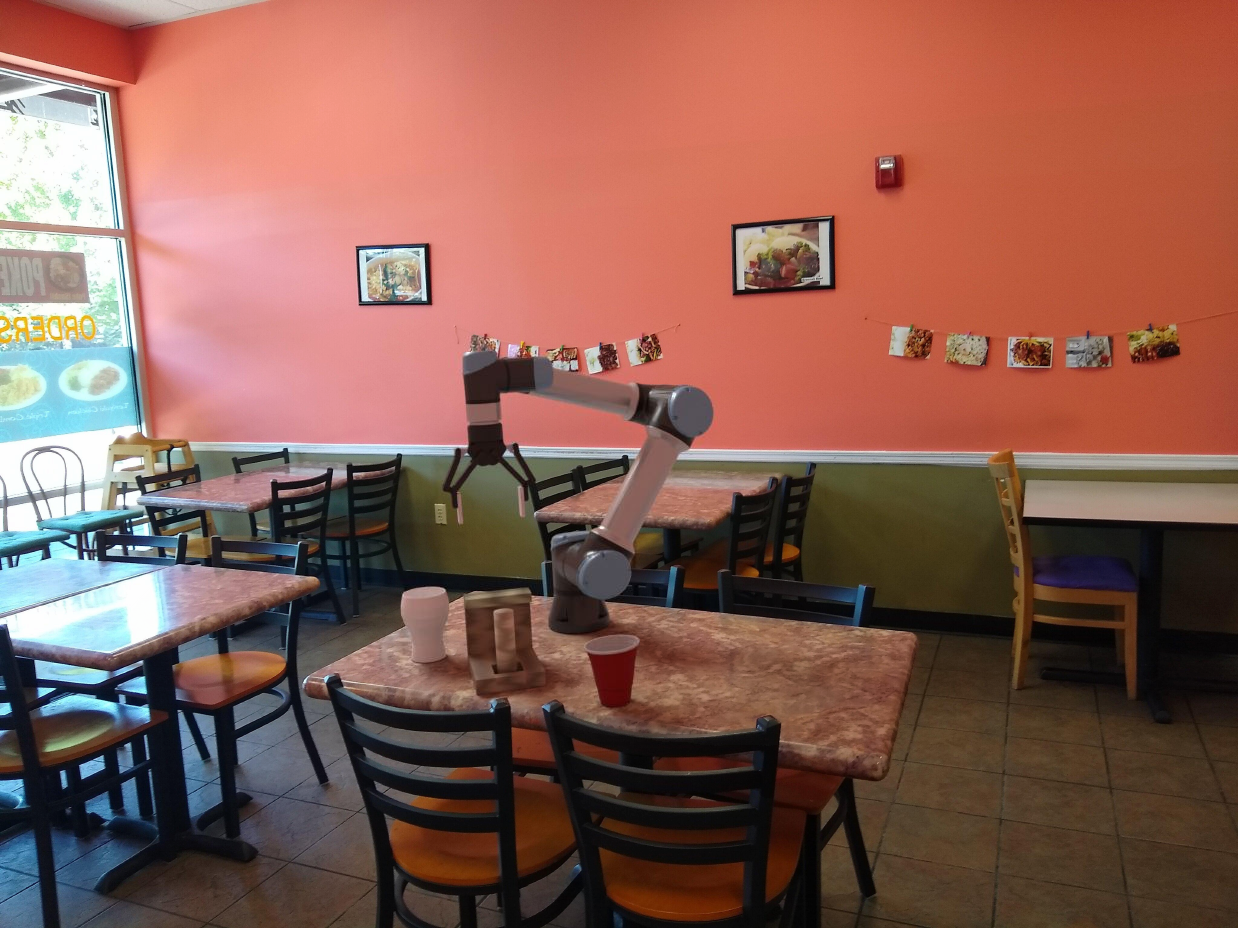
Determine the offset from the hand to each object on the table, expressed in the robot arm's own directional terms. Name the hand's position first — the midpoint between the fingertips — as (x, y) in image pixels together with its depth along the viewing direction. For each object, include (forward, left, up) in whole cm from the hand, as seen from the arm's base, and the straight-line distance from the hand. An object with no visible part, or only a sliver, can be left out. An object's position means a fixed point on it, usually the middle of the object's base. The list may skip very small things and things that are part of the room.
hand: (491, 519), depth 201 cm
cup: (+15, -6, -31) cm, 35 cm away
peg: (+1, +16, -31) cm, 35 cm away
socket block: (0, +12, -31) cm, 33 cm away
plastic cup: (-18, +34, -31) cm, 49 cm away
